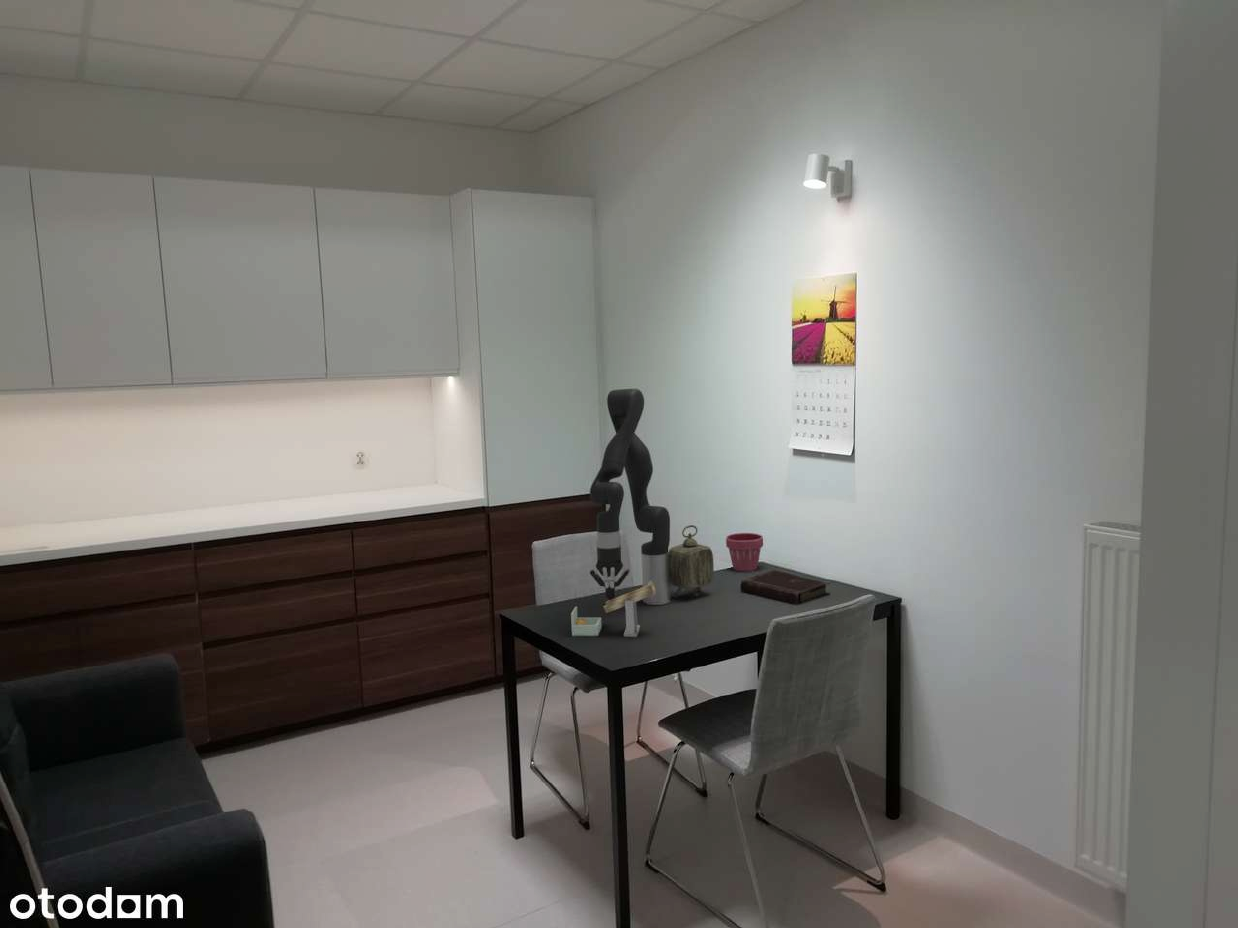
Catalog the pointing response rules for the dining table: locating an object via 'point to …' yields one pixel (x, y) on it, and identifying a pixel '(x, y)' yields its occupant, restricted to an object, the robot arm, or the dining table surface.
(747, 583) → the diary
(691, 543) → the tabletop clock
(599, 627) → the pale green cubby shelf
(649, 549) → the robot arm
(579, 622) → the ball
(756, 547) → the plant pot
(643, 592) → the lever
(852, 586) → the dining table surface
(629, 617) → the fulcrum
